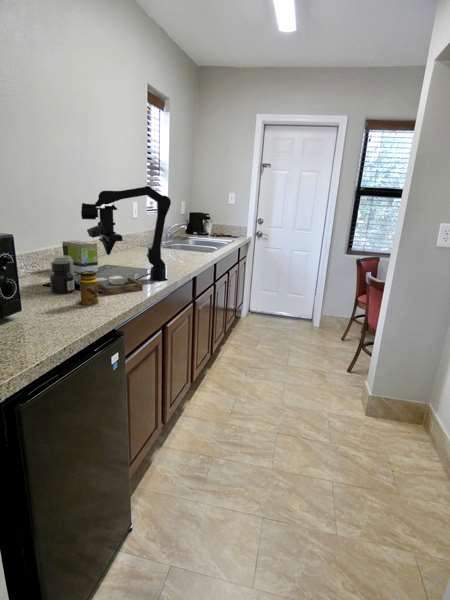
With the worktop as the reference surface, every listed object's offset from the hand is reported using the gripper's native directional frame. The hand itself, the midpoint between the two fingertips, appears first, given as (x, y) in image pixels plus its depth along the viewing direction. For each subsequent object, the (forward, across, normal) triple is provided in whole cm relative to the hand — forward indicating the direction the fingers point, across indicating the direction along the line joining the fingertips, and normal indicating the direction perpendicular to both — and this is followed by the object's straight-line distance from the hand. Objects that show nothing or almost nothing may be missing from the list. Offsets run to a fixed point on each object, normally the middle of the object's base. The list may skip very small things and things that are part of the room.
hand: (108, 254), depth 161 cm
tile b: (+12, +7, -7) cm, 16 cm away
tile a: (+12, +7, 0) cm, 14 cm away
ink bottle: (+12, +9, -24) cm, 28 cm away
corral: (+12, +17, -4) cm, 21 cm away
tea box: (+12, -26, -4) cm, 29 cm away
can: (+12, -4, -18) cm, 23 cm away
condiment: (+12, +30, -22) cm, 39 cm away
